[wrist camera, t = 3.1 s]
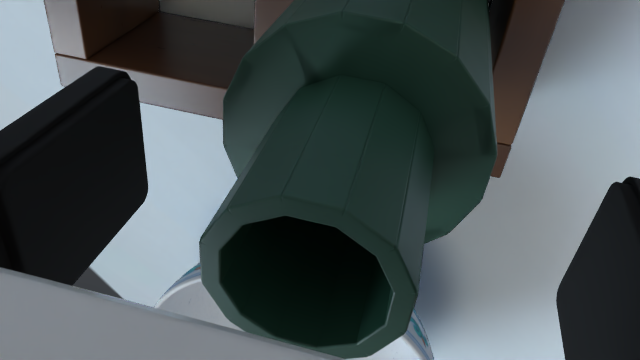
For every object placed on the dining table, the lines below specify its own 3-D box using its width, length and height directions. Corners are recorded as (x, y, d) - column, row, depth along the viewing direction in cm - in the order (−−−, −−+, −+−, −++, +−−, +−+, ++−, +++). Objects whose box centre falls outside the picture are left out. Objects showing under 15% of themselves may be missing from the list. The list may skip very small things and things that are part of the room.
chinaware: (472, 200, 27) (471, 316, 21) (424, 378, 36) (414, 497, 30) (194, 152, 30) (121, 244, 24) (213, 330, 38) (162, 431, 32)
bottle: (353, -109, 21) (101, 77, 7) (503, -87, 20) (568, 174, 6) (335, 34, 24) (143, 356, 10) (464, 58, 23) (447, 439, 9)
